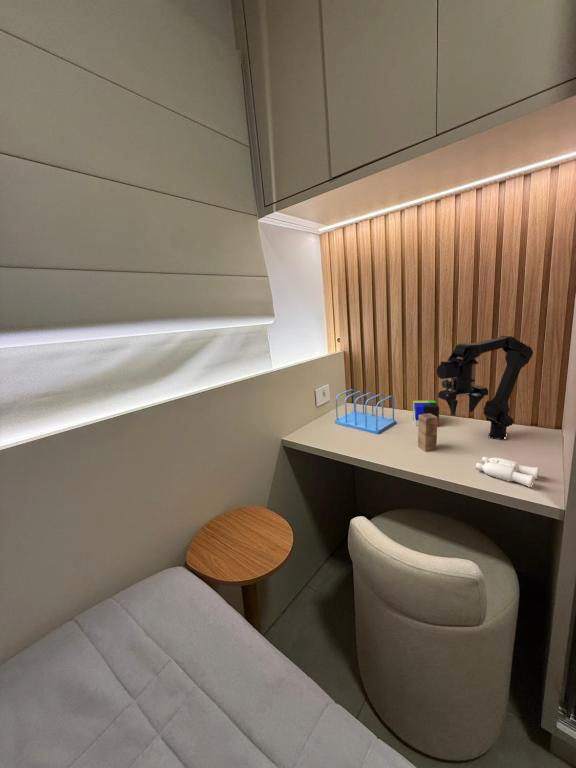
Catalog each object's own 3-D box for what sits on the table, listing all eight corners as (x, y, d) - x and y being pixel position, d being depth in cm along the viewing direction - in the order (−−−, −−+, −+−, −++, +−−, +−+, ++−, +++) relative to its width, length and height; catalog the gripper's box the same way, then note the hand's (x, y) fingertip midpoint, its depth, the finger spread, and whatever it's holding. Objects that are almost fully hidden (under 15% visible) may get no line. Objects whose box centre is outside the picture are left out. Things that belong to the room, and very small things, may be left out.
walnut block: (429, 444, 134) (430, 413, 130) (437, 449, 129) (438, 417, 126) (417, 446, 133) (418, 414, 130) (425, 451, 128) (426, 418, 125)
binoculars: (530, 491, 99) (532, 477, 98) (474, 474, 110) (474, 461, 109) (538, 477, 105) (540, 464, 104) (484, 462, 117) (485, 451, 116)
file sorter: (334, 423, 166) (333, 395, 162) (353, 414, 177) (353, 387, 174) (377, 434, 148) (377, 403, 144) (396, 423, 159) (396, 393, 156)
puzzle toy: (415, 426, 153) (416, 406, 151) (413, 419, 163) (413, 400, 160) (438, 427, 151) (439, 407, 149) (434, 419, 160) (434, 400, 158)
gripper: (469, 369, 136) (467, 404, 140) (430, 374, 133) (429, 410, 136) (490, 374, 125) (488, 412, 129) (448, 380, 122) (446, 419, 126)
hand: (462, 413), depth 130 cm, fingers open, 8 cm apart
